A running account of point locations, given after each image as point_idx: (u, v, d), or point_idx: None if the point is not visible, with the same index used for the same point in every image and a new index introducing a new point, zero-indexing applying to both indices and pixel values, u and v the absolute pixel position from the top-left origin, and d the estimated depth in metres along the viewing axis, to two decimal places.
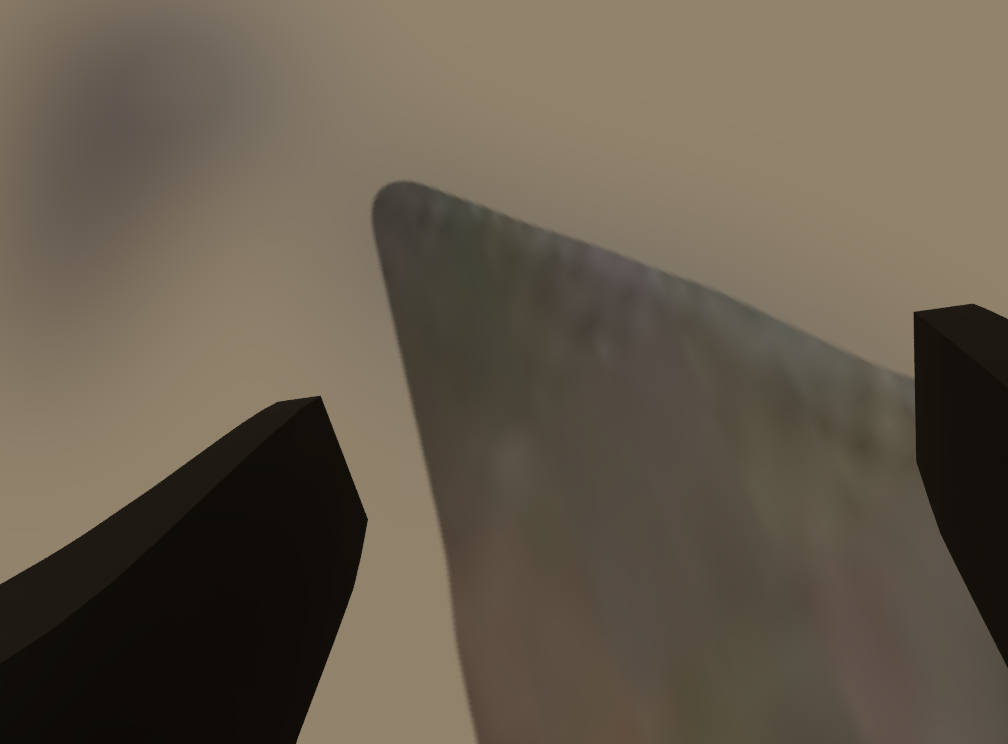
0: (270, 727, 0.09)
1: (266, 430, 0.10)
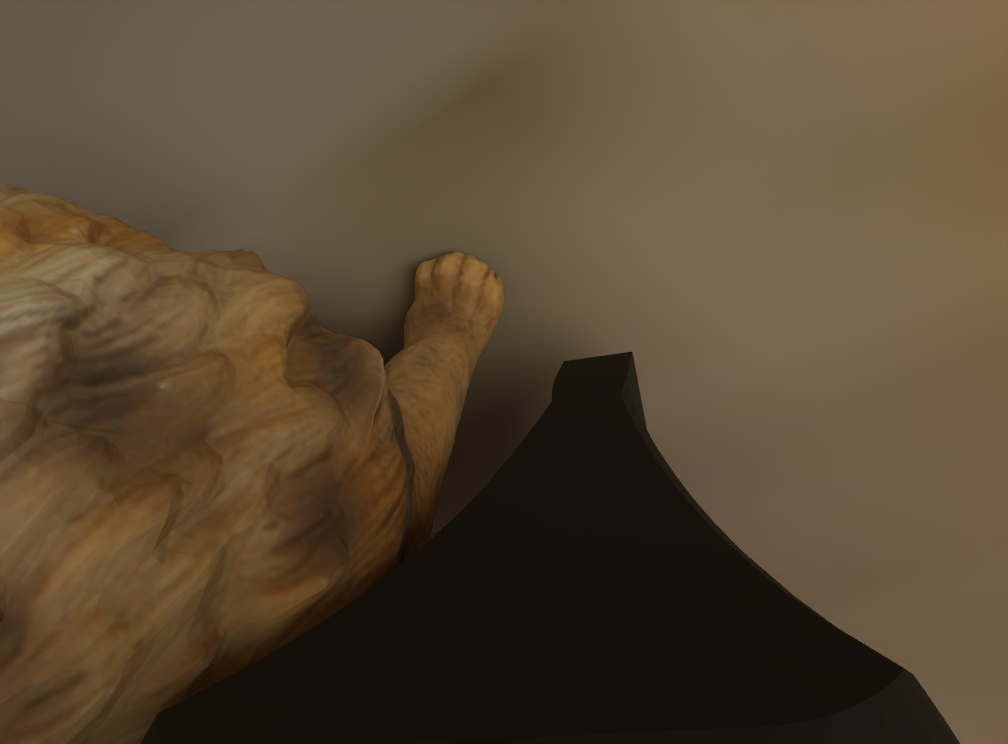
0: None
1: (607, 385, 0.09)
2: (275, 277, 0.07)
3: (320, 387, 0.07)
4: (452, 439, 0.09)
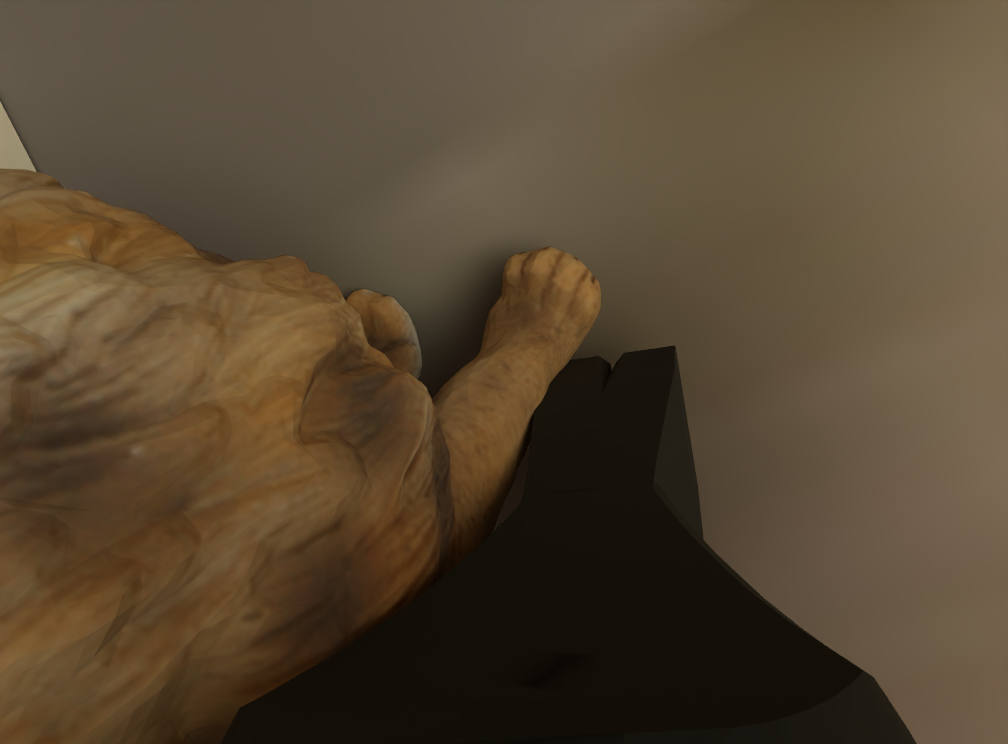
0: None
1: (654, 378, 0.09)
2: (310, 301, 0.06)
3: (342, 441, 0.06)
4: (511, 477, 0.08)
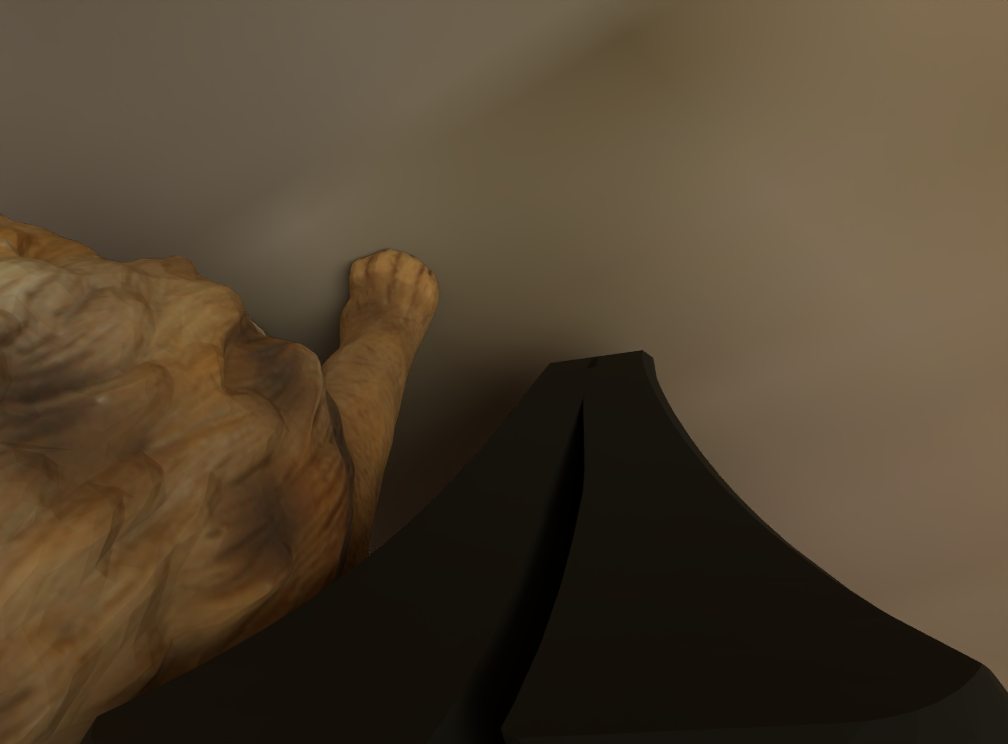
0: None
1: (571, 390, 0.10)
2: (210, 284, 0.07)
3: (260, 394, 0.07)
4: (391, 437, 0.10)
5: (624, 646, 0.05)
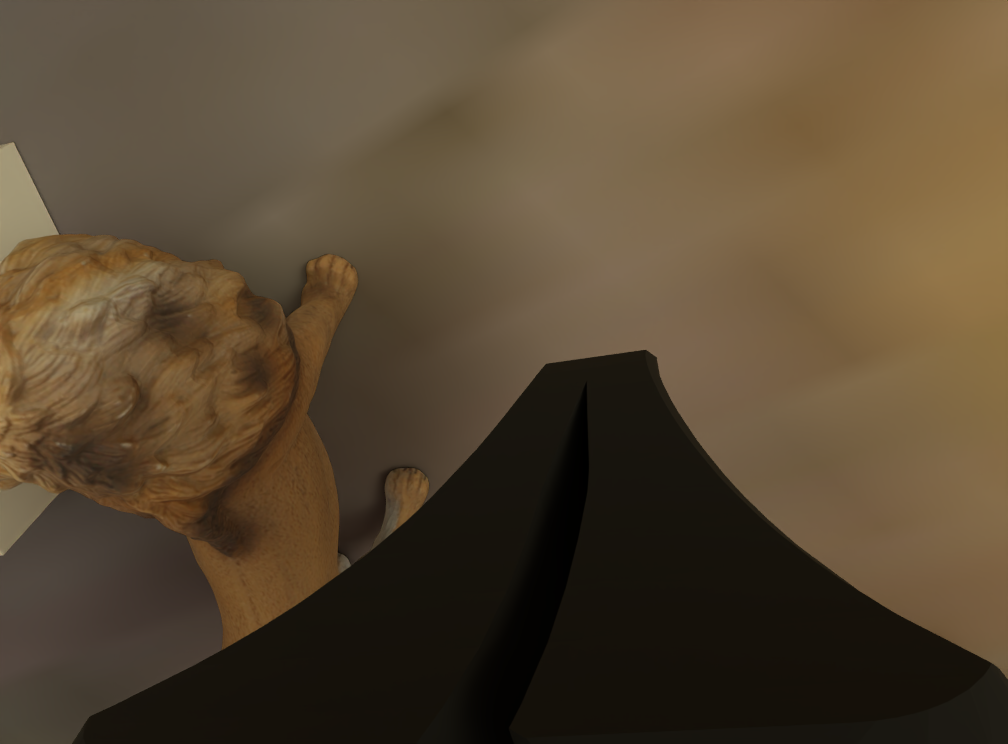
0: None
1: (566, 389, 0.10)
2: (230, 271, 0.16)
3: (252, 319, 0.16)
4: (323, 351, 0.19)
5: (632, 645, 0.05)
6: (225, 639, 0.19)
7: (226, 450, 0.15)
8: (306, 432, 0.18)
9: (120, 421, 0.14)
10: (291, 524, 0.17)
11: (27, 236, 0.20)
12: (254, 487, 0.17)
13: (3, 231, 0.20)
